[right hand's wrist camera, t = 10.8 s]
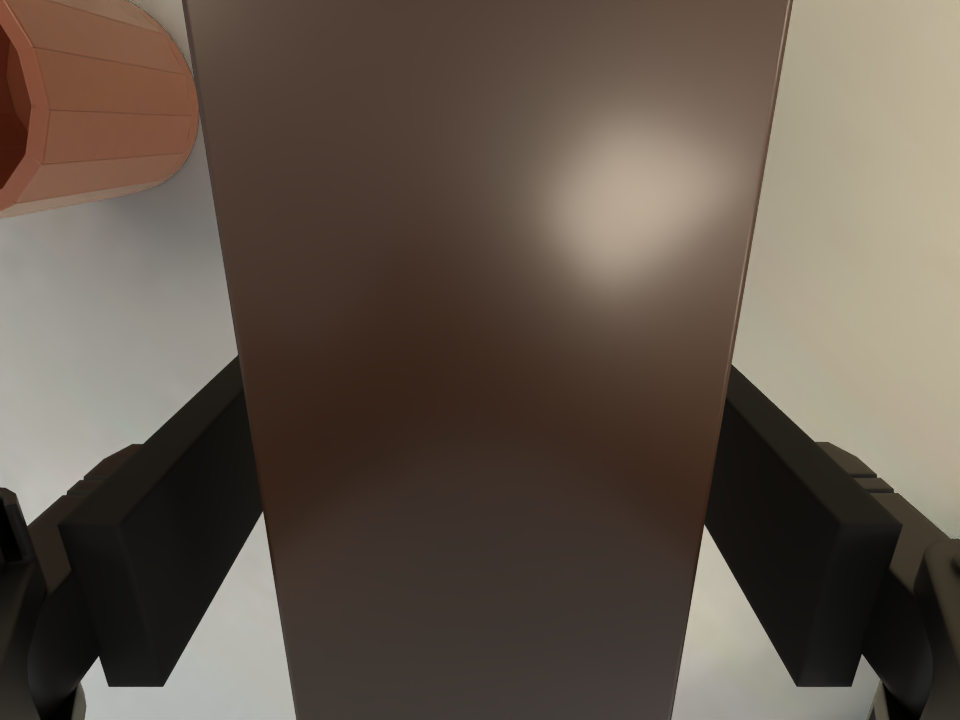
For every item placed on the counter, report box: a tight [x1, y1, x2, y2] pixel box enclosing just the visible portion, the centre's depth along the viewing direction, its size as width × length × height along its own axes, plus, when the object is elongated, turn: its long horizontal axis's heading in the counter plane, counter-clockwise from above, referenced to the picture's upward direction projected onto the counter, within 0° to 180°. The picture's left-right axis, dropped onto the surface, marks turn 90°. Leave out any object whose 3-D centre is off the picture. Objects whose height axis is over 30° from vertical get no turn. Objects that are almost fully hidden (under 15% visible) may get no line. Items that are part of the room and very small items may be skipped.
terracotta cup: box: [0, 0, 199, 219], centre depth 19 cm, size 7×7×9 cm
